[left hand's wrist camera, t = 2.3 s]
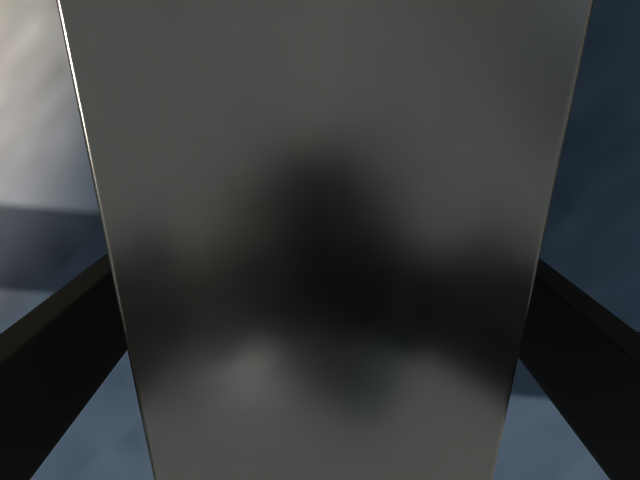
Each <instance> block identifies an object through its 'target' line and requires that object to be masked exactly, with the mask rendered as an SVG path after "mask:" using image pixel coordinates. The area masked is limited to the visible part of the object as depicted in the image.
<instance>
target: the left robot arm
mask: <svg viewBox="0 0 640 480" xmlns="http://www.w3.org/2000/svg"><path fill="white" fill-rule="evenodd" d="M126 351H127V344H126V339H125V335H124V330H123V325H122V320H121V315H120V310H119V305H118V300H117V295H116V290H115V286H114V281H113V276H112V271H111V266H110V261H109V256H108V254H106V255H105V256H103V257H102V258H101V259H99V260H98V261H97V262H95V263H94V264H93V265H91V266H90V267H89V268H87V269H86V270H85V271H83V272H82V273H81V274H79V275H78V276H77V277H76V278H74V279H73V280H72V281H70V282H69V283H68V284H66V285H65V286H64V287H62V288H61V289H60V290H58V291H57V292H56V293H54V294H53V295H52V296H50V297H49V298H48V299H46V300H45V301H44V302H42V303H41V304H40V305H38V306H37V307H36V308H34V309H33V310H32V311H31V312H29V313H28V314H27V315H25V316H24V317H23V318H21V319H20V320H19V321H17V322H16V323H15V324H13V325H12V326H11V327H9V328H8V329H7V330H5V331H4V332H3V333H1V334H0V480H30V479H31V477H32V476H33V475H34V473H35V472H36V471H37V469H38V468H39V467H40V465H41V464H42V463H43V461H44V460H45V459H46V457H47V456H48V455H49V453H50V452H51V451H52V449H53V448H54V447H55V445H56V444H57V443H58V441H59V440H60V439H61V437H62V436H63V435H64V433H65V432H66V431H67V429H68V428H69V427H70V425H71V424H72V423H73V421H74V420H75V419H76V417H77V416H78V415H79V413H80V412H81V411H82V409H83V408H84V407H85V405H86V404H87V403H88V401H89V400H90V399H91V397H92V396H93V395H94V393H95V392H96V391H97V389H98V388H99V387H100V385H101V384H102V383H103V381H104V380H105V379H106V377H107V376H108V375H109V373H110V372H111V371H112V369H113V368H114V367H115V365H116V364H117V363H118V361H119V360H120V359H121V357H122V356H123V355H124V353H125V352H126ZM518 357H519V359H520V360H521V361H522V363H523V364H524V365H525V367H526V368H527V369H528V371H529V372H530V373H531V375H532V376H533V377H534V379H535V380H536V381H537V383H538V384H539V385H540V387H541V388H542V389H543V391H544V392H545V393H546V395H547V396H548V397H549V399H550V400H551V401H552V403H553V404H554V405H555V407H556V408H557V409H558V411H559V412H560V413H561V415H562V416H563V417H564V419H565V420H566V421H567V423H568V424H569V425H570V427H571V428H572V429H573V431H574V432H575V433H576V435H577V436H578V437H579V439H580V440H581V441H582V443H583V444H584V445H585V447H586V448H587V449H588V451H589V452H590V453H591V455H592V456H593V457H594V459H595V460H596V461H597V463H598V464H599V465H600V467H601V468H602V469H603V471H604V472H605V473H606V475H607V476H608V477H609V479H610V480H640V332H636V331H635V330H633V329H632V328H631V327H629V326H628V325H627V324H625V323H624V322H623V321H621V320H620V319H619V318H617V317H616V316H615V315H613V314H612V313H611V312H609V311H608V310H607V309H605V308H604V307H603V306H602V305H600V304H599V303H598V302H596V301H595V300H594V299H592V298H591V297H590V296H588V295H587V294H586V293H584V292H583V291H582V290H580V289H579V288H578V287H576V286H575V285H574V284H572V283H571V282H570V281H568V280H567V279H566V278H564V277H563V276H562V275H561V274H559V273H558V272H557V271H555V270H554V269H553V268H551V267H550V266H549V265H547V264H546V263H545V262H543V261H542V260H541V259H539V261H538V266H537V270H536V275H535V280H534V284H533V289H532V294H531V299H530V303H529V308H528V313H527V318H526V322H525V327H524V332H523V336H522V341H521V346H520V351H519V355H518Z"/></svg>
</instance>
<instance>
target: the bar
mask: <svg viewBox="0 0 640 480" xmlns="http://www.w3.org/2000/svg"><path fill="white" fill-rule="evenodd" d="M56 1H57V6H58V11H59V16H60V21H61V26H62V31H63V36H64V41H65V46H66V50H67V55H68V60H69V65H70V70H71V75H72V80H73V85H74V90H75V95H76V99H77V104H78V109H79V114H80V119H81V124H82V129H83V134H84V139H85V144H86V148H87V153H88V158H89V163H90V168H91V173H92V178H93V183H94V188H95V193H96V197H97V202H98V207H99V212H100V217H101V222H102V227H103V232H104V237H105V242H106V246H107V251H108V256H109V261H110V266H111V271H112V276H113V281H114V286H115V290H116V295H117V300H118V305H119V310H120V315H121V320H122V325H123V330H124V335H125V339H126V344H127V349H128V354H129V359H130V364H131V369H132V374H133V379H134V384H135V388H136V393H137V398H138V403H139V408H140V413H141V418H142V423H143V428H144V433H145V437H146V442H147V447H148V452H149V457H150V462H151V467H152V472H153V477H154V480H492V478H493V473H494V469H495V464H496V459H497V454H498V450H499V445H500V440H501V436H502V431H503V426H504V421H505V417H506V412H507V407H508V403H509V398H510V393H511V388H512V384H513V379H514V374H515V369H516V365H517V360H518V355H519V351H520V346H521V341H522V336H523V332H524V327H525V322H526V318H527V313H528V308H529V303H530V299H531V294H532V289H533V284H534V280H535V275H536V270H537V266H538V261H539V256H540V251H541V247H542V242H543V237H544V232H545V228H546V223H547V218H548V214H549V209H550V204H551V199H552V195H553V190H554V185H555V181H556V176H557V171H558V166H559V162H560V157H561V152H562V147H563V143H564V138H565V133H566V129H567V124H568V119H569V114H570V110H571V105H572V100H573V96H574V91H575V86H576V81H577V77H578V72H579V67H580V62H581V58H582V53H583V48H584V44H585V39H586V34H587V29H588V25H589V20H590V15H591V11H592V6H593V1H594V0H56Z"/></svg>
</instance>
